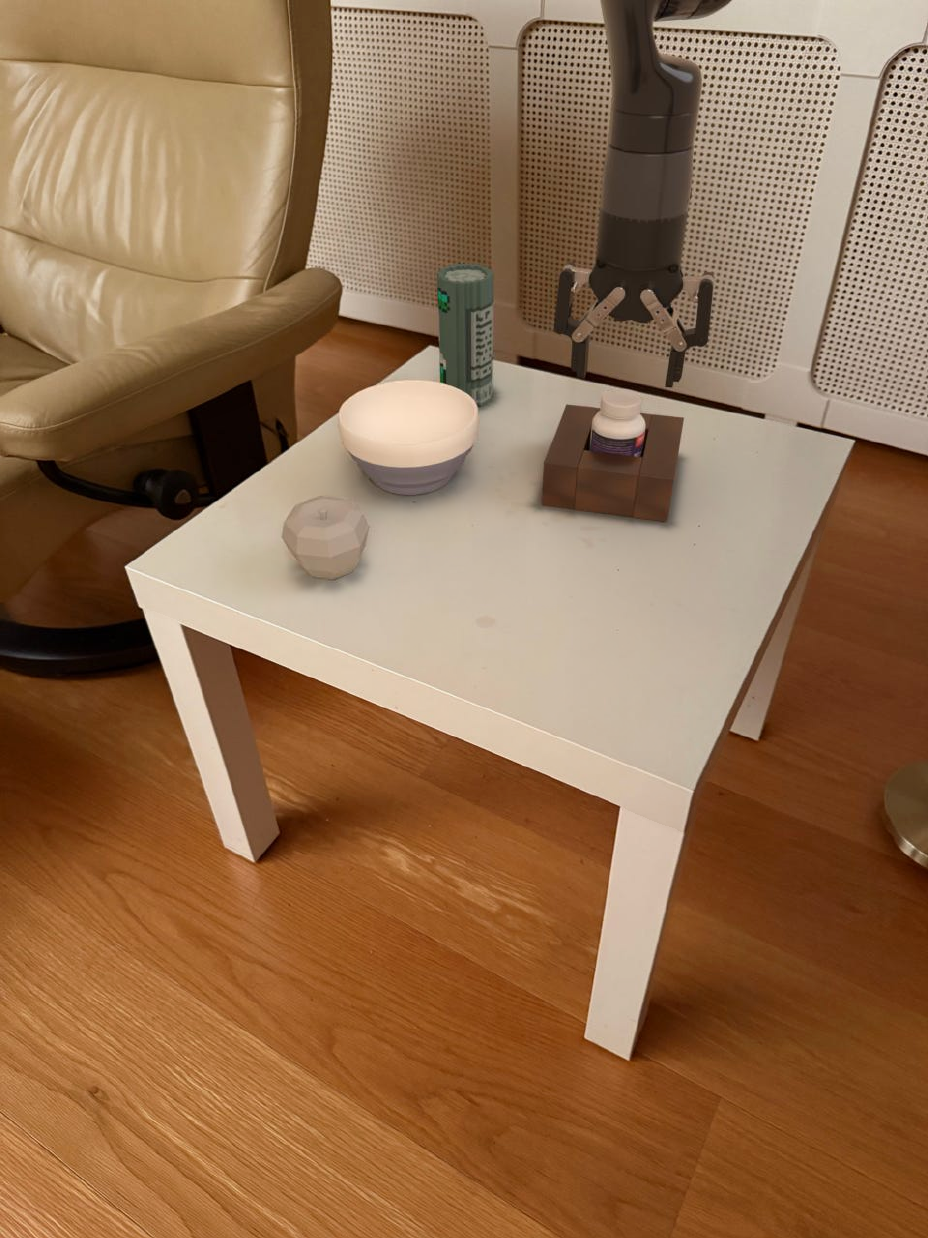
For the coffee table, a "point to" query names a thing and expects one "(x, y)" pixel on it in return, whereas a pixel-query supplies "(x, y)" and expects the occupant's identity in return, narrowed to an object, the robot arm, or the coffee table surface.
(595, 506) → the socket pad
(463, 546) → the coffee table surface
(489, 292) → the can
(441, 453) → the bowl
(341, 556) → the apple
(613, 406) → the pill bottle
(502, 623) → the coffee table surface
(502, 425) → the coffee table surface
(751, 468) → the coffee table surface
